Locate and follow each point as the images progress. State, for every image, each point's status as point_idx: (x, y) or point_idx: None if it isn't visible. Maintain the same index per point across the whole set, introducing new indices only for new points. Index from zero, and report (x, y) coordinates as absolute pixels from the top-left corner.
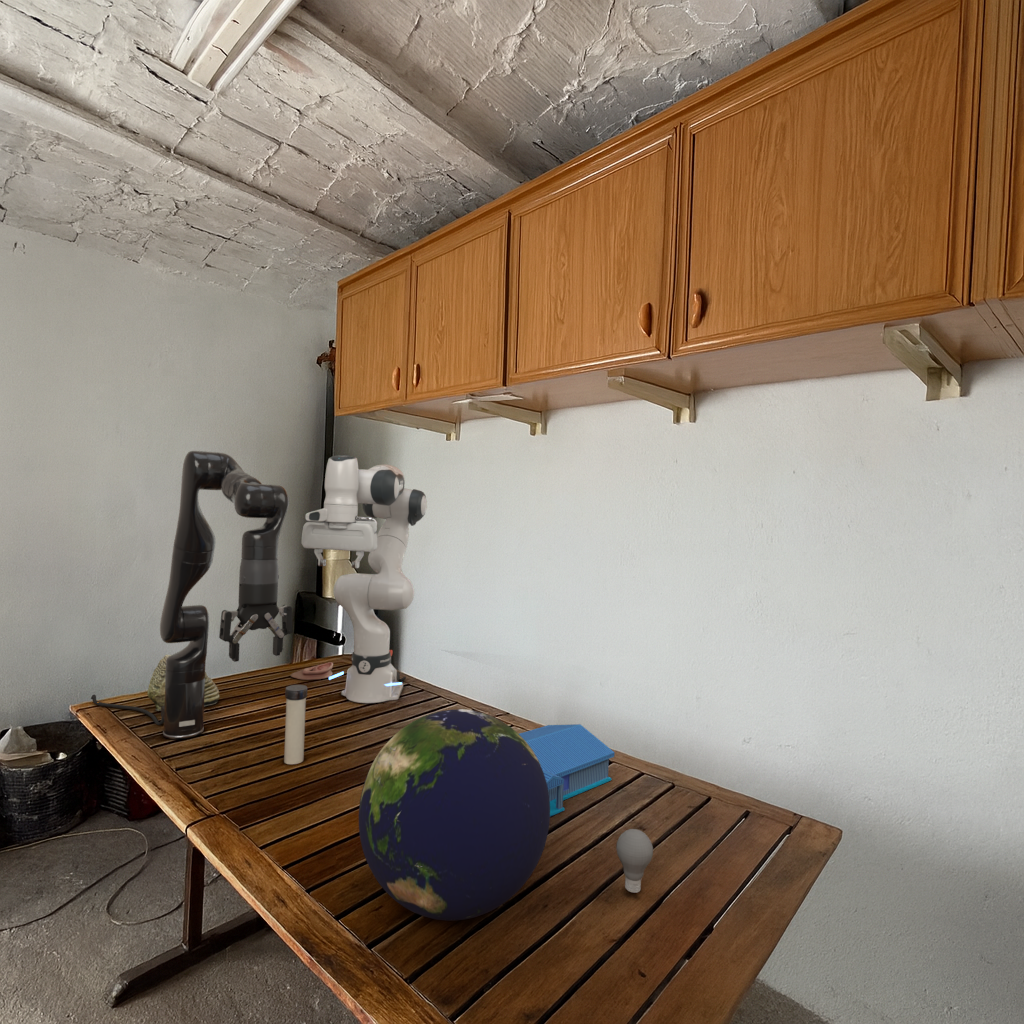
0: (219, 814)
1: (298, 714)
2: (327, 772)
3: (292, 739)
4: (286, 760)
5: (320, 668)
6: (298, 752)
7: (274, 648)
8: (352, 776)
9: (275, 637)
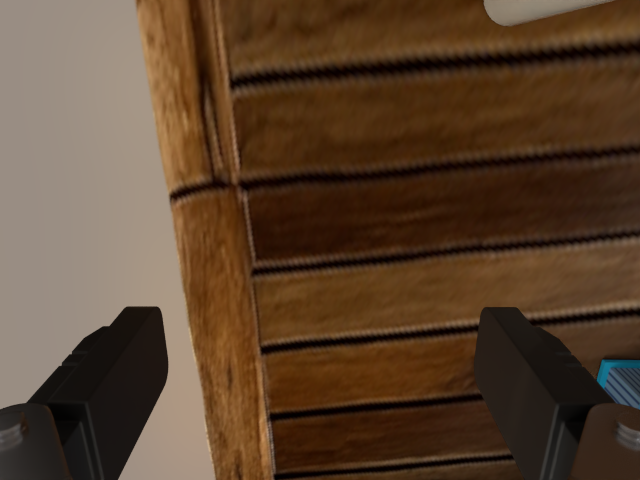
0: (236, 189)
1: (587, 4)
2: (531, 135)
3: (523, 10)
4: (487, 2)
5: None
6: (522, 22)
7: (498, 364)
8: (560, 196)
9: (557, 442)
